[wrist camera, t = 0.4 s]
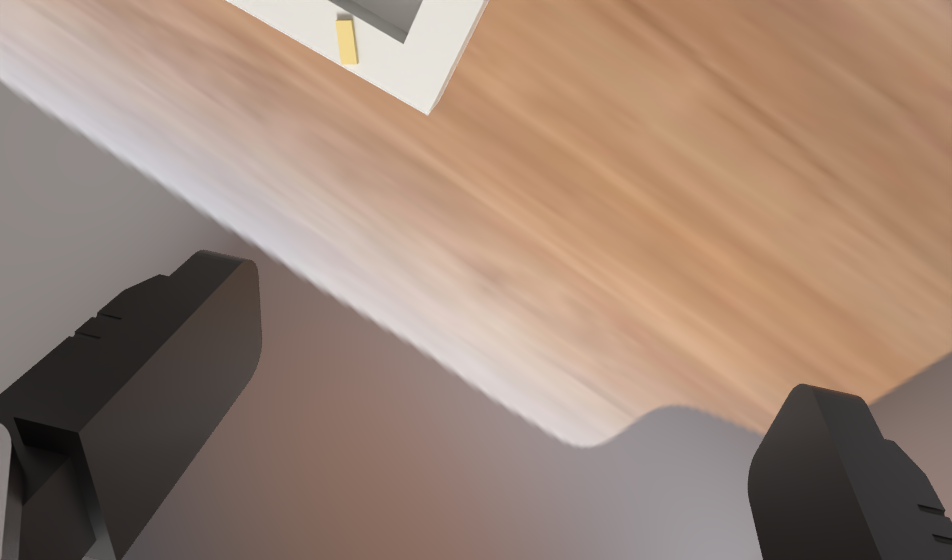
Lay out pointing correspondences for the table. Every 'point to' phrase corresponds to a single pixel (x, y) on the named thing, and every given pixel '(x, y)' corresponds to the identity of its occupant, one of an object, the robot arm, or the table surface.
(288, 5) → the white square tray
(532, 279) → the table surface
